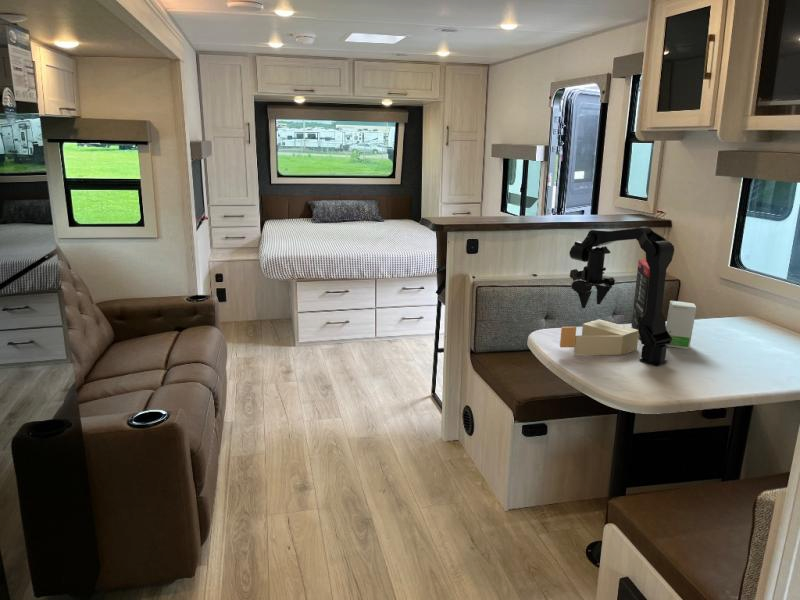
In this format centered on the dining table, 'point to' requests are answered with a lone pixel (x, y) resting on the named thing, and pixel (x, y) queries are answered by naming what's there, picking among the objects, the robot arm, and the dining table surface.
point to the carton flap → (590, 343)
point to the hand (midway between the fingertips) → (590, 306)
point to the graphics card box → (640, 292)
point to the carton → (613, 333)
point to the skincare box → (680, 323)
